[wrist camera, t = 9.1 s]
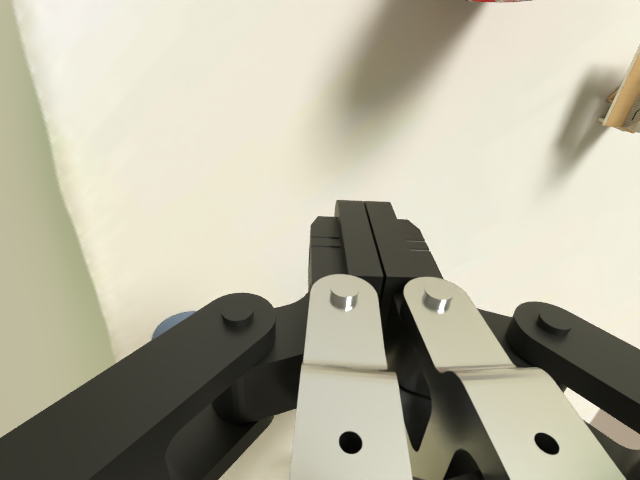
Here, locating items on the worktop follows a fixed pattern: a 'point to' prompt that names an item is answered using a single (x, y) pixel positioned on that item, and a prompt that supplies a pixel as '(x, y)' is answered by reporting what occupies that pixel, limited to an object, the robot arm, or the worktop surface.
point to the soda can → (498, 0)
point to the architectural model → (626, 101)
